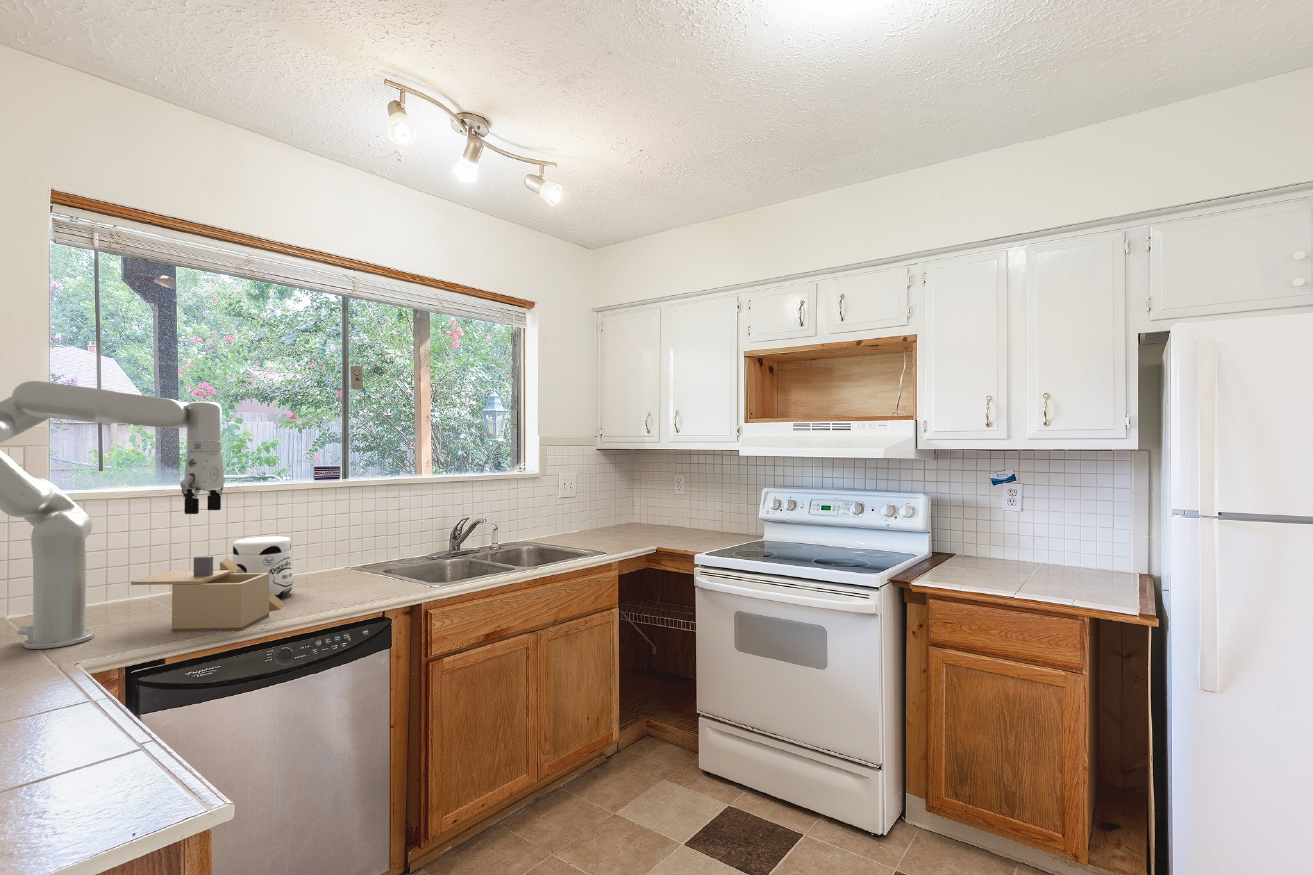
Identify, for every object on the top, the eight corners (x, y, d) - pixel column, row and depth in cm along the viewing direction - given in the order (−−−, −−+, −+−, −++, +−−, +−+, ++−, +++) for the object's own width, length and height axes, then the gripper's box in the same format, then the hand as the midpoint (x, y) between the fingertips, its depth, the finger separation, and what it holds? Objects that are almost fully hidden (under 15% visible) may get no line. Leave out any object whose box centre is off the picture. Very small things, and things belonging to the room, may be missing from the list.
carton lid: (130, 584, 167) (131, 562, 167) (167, 573, 181) (167, 552, 181) (200, 584, 168) (200, 561, 168) (231, 573, 182) (232, 552, 182)
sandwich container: (281, 610, 190) (281, 558, 190) (219, 615, 184) (219, 561, 184) (285, 603, 198) (285, 553, 198) (225, 608, 192) (226, 557, 192)
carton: (171, 631, 168) (172, 584, 168) (205, 617, 182) (205, 573, 182) (241, 630, 169) (241, 583, 169) (269, 616, 183) (269, 573, 183)
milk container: (296, 599, 202) (296, 541, 203) (229, 607, 193) (230, 546, 193) (290, 589, 217) (291, 534, 217) (228, 595, 207) (228, 538, 207)
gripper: (198, 448, 167) (197, 515, 167) (236, 447, 184) (236, 508, 184) (167, 448, 166) (166, 515, 166) (208, 447, 183) (208, 508, 183)
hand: (203, 511), depth 175 cm, fingers open, 9 cm apart
